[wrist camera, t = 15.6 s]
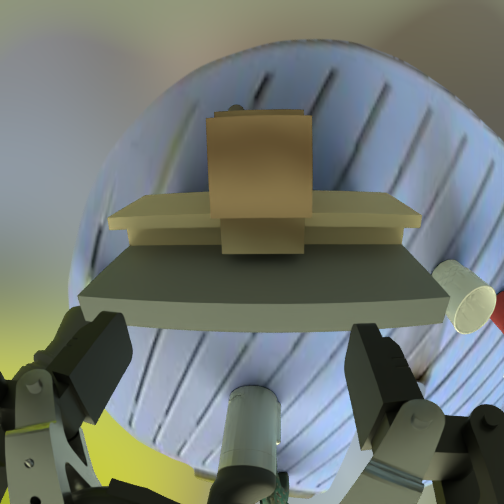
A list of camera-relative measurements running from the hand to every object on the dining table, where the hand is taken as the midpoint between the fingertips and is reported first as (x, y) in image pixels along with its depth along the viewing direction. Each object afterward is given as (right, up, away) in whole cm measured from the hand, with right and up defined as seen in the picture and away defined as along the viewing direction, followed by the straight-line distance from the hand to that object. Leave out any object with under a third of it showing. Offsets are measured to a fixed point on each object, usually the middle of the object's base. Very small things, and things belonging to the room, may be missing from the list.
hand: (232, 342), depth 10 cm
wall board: (+3, +7, +30) cm, 31 cm away
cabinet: (+2, +12, +18) cm, 22 cm away
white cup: (+32, -1, +31) cm, 45 cm away
